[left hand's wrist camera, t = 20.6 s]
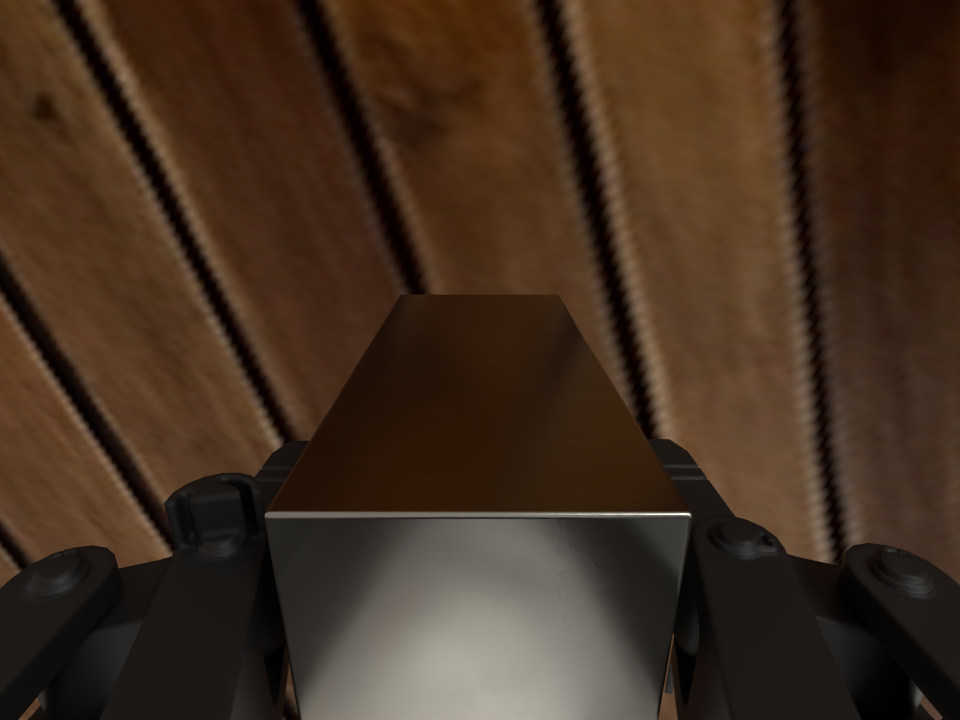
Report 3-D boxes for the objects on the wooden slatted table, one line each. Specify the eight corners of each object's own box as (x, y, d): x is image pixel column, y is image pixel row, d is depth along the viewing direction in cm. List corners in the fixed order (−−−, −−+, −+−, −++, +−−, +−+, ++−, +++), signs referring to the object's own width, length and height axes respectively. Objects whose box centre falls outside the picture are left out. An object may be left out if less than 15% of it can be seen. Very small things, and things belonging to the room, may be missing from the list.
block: (558, 294, 15) (695, 513, 6) (550, 449, 17) (643, 820, 7) (399, 294, 15) (261, 513, 6) (408, 449, 17) (314, 820, 7)
